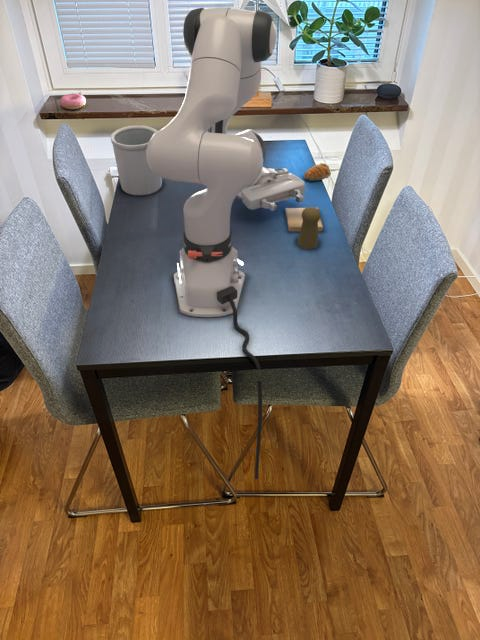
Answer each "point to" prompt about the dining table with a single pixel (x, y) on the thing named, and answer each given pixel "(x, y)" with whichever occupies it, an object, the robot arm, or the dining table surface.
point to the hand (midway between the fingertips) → (288, 204)
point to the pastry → (317, 172)
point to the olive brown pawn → (309, 228)
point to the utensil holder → (134, 160)
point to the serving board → (297, 219)
